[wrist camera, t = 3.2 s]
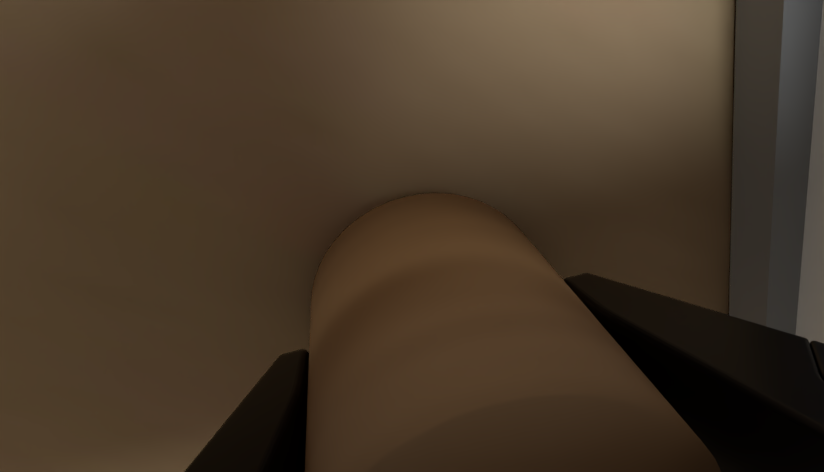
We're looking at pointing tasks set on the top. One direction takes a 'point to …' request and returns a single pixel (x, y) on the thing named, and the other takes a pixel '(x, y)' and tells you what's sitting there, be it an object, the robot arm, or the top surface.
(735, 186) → the housing
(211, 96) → the top surface
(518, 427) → the brown cylinder
